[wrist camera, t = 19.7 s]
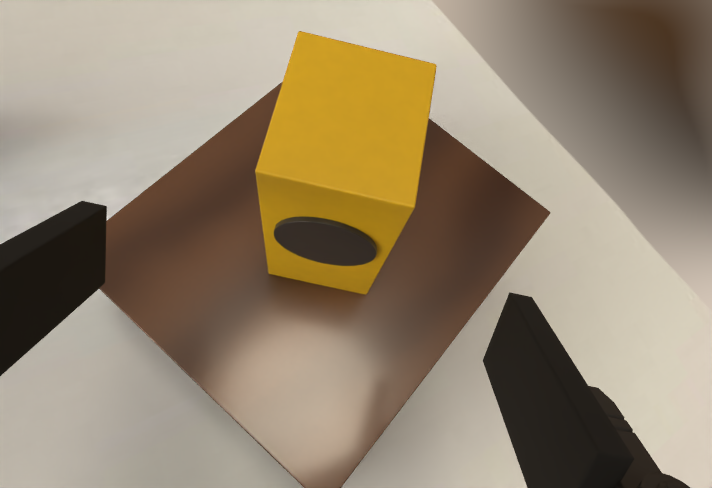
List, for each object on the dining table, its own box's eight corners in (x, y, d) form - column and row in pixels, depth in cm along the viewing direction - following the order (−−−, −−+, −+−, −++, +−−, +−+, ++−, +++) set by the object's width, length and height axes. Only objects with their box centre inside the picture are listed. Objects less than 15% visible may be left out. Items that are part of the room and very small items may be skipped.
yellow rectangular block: (266, 278, 28) (252, 177, 17) (296, 170, 31) (300, 25, 20) (365, 299, 29) (414, 214, 17) (385, 191, 31) (438, 59, 20)
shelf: (122, 301, 37) (63, 254, 27) (322, 126, 45) (331, 42, 35) (314, 486, 34) (325, 507, 24) (491, 263, 42) (551, 212, 32)
